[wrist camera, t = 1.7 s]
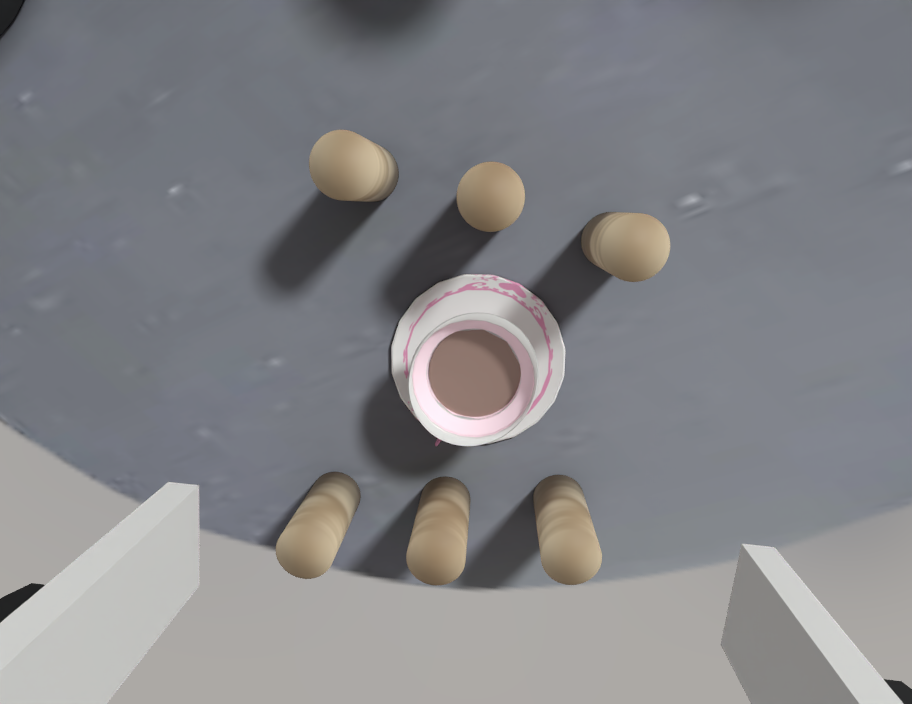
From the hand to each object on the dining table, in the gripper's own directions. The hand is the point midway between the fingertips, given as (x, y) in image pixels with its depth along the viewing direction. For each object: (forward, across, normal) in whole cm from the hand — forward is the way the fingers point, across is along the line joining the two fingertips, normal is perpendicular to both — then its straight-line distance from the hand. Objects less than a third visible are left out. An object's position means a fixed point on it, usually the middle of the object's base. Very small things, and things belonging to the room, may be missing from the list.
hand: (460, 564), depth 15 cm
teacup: (+29, 0, -2) cm, 29 cm away
